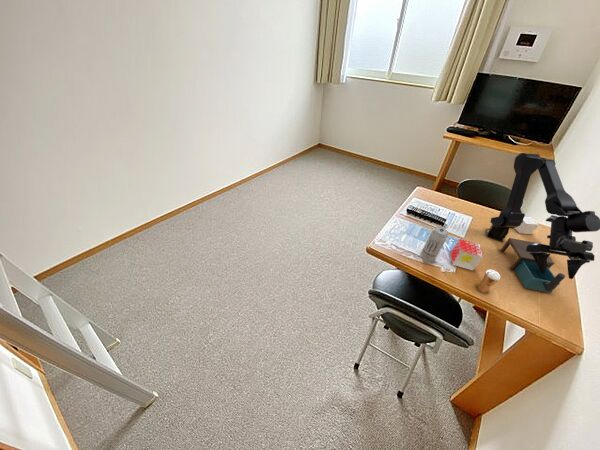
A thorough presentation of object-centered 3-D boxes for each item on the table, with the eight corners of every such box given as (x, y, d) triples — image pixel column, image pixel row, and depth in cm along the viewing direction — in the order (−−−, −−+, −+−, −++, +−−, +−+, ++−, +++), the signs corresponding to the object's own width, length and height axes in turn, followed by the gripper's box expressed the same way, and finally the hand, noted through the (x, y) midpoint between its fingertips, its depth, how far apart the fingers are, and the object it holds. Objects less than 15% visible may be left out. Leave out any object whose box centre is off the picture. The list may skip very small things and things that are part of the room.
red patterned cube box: (452, 264, 112) (460, 250, 107) (450, 252, 118) (459, 238, 113) (473, 270, 110) (482, 256, 105) (470, 257, 116) (479, 244, 111)
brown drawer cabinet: (499, 250, 121) (509, 237, 116) (528, 255, 120) (539, 243, 115) (510, 270, 112) (521, 257, 107) (542, 276, 111) (554, 263, 106)
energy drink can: (416, 257, 113) (430, 230, 104) (422, 250, 117) (436, 223, 107) (430, 265, 110) (446, 238, 101) (436, 258, 114) (451, 231, 104)
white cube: (512, 225, 137) (519, 216, 134) (523, 226, 137) (531, 217, 134) (519, 233, 133) (526, 223, 129) (531, 234, 133) (539, 224, 129)
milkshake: (471, 284, 104) (484, 266, 98) (484, 284, 105) (497, 266, 98) (478, 294, 100) (492, 276, 94) (491, 293, 101) (506, 276, 95)
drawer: (513, 267, 113) (530, 247, 106) (536, 271, 112) (555, 251, 105) (529, 295, 102) (549, 274, 95) (555, 300, 101) (577, 279, 94)
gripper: (552, 226, 91) (547, 272, 90) (612, 236, 89) (609, 283, 88) (527, 229, 102) (522, 270, 101) (580, 238, 100) (577, 280, 99)
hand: (557, 276), depth 97 cm, fingers open, 9 cm apart
